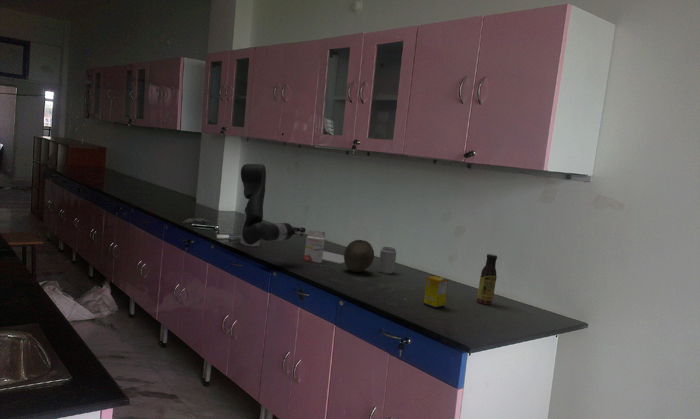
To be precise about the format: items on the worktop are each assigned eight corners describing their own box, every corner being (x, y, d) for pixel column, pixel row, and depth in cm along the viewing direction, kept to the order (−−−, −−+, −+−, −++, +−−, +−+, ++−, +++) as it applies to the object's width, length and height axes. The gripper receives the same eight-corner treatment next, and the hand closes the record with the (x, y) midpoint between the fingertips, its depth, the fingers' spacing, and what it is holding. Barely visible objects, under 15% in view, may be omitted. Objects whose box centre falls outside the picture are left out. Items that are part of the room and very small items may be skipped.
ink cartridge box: (303, 260, 260) (306, 230, 259) (305, 259, 265) (308, 229, 264) (320, 263, 260) (324, 233, 258) (322, 261, 265) (325, 231, 263)
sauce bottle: (481, 305, 213) (488, 255, 211) (473, 300, 219) (480, 252, 217) (495, 305, 215) (502, 256, 213) (487, 301, 221) (494, 253, 219)
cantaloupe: (336, 271, 244) (340, 239, 243) (349, 267, 257) (353, 236, 256) (365, 277, 239) (369, 244, 237) (377, 273, 251) (380, 241, 250)
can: (382, 269, 260) (385, 245, 259) (396, 273, 256) (399, 248, 255) (375, 271, 253) (378, 246, 252) (389, 275, 250) (392, 249, 248)
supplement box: (432, 303, 208) (436, 275, 207) (445, 307, 204) (448, 279, 203) (422, 304, 204) (426, 276, 203) (435, 309, 200) (438, 280, 199)
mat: (303, 255, 274) (304, 254, 274) (324, 252, 289) (324, 251, 289) (339, 263, 263) (339, 262, 262) (359, 260, 278) (359, 259, 278)
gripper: (292, 225, 234) (316, 224, 248) (269, 221, 241) (293, 220, 255) (291, 242, 234) (314, 240, 249) (267, 237, 241) (292, 235, 256)
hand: (303, 230), depth 252 cm, fingers closed
